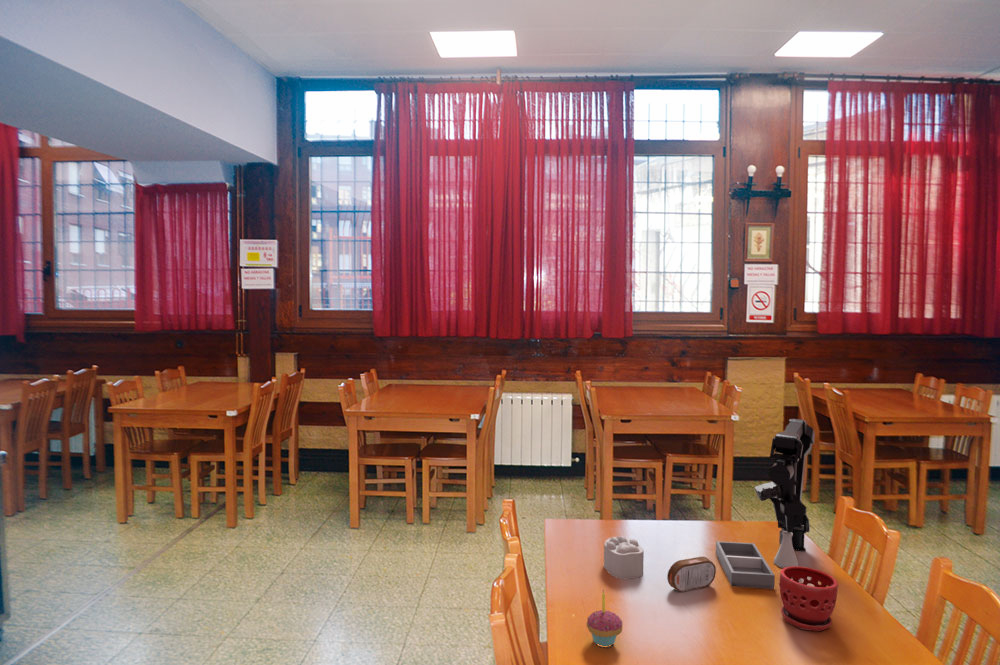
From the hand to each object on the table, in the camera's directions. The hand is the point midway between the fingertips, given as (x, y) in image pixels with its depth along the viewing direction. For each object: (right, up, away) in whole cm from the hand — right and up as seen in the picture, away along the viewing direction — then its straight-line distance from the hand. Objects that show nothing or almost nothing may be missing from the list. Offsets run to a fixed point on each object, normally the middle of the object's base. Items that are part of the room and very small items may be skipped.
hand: (783, 526), depth 190 cm
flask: (+1, -12, +2) cm, 13 cm away
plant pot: (-8, -15, -31) cm, 36 cm away
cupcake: (-61, -15, -41) cm, 75 cm away
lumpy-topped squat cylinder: (-49, -13, -1) cm, 51 cm away
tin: (-32, -13, -14) cm, 37 cm away
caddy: (-13, -12, -2) cm, 18 cm away
